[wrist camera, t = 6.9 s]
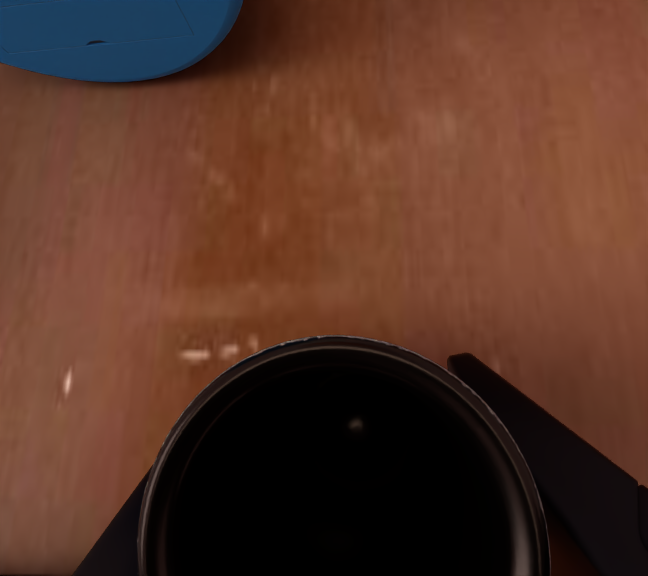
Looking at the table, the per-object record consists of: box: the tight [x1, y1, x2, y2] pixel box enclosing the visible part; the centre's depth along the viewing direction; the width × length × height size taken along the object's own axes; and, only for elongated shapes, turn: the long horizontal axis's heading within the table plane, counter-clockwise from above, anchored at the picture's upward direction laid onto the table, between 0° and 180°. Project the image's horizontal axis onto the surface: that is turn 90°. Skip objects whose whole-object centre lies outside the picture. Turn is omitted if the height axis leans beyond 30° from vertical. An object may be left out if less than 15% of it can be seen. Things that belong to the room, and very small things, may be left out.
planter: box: [137, 335, 551, 576], centre depth 10 cm, size 4×4×10 cm
